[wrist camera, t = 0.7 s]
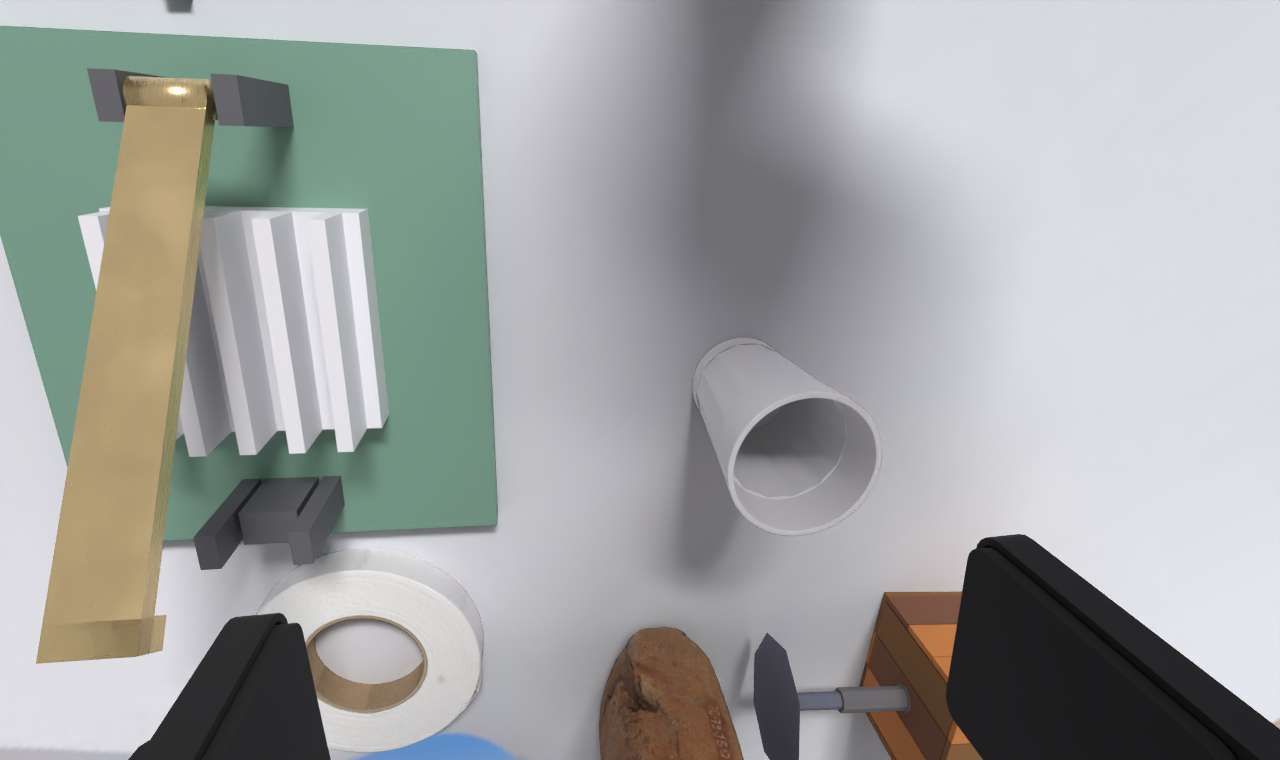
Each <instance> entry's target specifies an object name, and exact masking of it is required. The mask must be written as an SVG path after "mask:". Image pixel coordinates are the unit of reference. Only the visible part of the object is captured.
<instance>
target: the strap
mask: <svg viewBox="0 0 1280 760" xmlns="http://www.w3.org/2000/svg"><path fill="white" fill-rule="evenodd" d="M123 95H124V99H125V102H126V105H127V106H126V112H125V119H124V125H123V131H122V137H121V143H120V149H119V156H118V162H117V168H116V174H115V180H114V186H113V193H112V199H111V205H110V211H109V217H108V223H107V230H106V236H105V242H104V248H103V254H102V260H101V267H100V273H99V279H98V285H97V291H96V297H95V304H94V310H93V316H92V322H91V328H90V334H89V341H88V347H87V353H86V359H85V365H84V371H83V377H82V384H81V390H80V396H79V402H78V408H77V414H76V421H75V427H74V433H73V439H72V445H71V451H70V458H69V464H68V470H67V476H66V482H65V488H64V495H63V501H62V507H61V513H60V519H59V525H58V532H57V538H56V544H55V550H54V556H53V562H52V569H51V575H50V581H49V587H48V593H47V599H46V606H45V612H44V618H43V624H42V630H41V636H40V643H39V649H38V655H37V661H36V664H37V663H51V662H66V661H80V660H94V659H109V658H123V657H136V656H141V655H145V654H149V653H154V652H158V651H162V648H163V640H164V631H165V623H166V615H161V616H154V613H155V605H156V597H157V589H158V581H159V573H160V565H161V556H162V548H163V540H164V532H165V524H166V516H167V508H168V499H169V491H170V483H171V475H172V467H173V459H174V451H175V442H176V434H177V426H178V418H179V410H180V402H181V394H182V386H183V377H184V369H185V361H186V353H187V345H188V337H189V329H190V320H191V312H192V304H193V296H194V288H195V280H196V272H197V263H198V255H199V247H200V239H201V231H202V223H203V215H204V206H205V198H206V190H207V182H208V174H209V166H210V158H211V149H212V141H213V133H214V125H215V120H218V116H217V110H216V105H215V99H214V93H213V87H212V81H211V80H209V79H187V78H163V77H140V76H128V77H126V78H125V80H124V83H123Z"/></svg>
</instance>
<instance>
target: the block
mask: <svg viewBox="0 0 1280 760" xmlns="http://www.w3.org/2000/svg"><path fill="white" fill-rule="evenodd" d="M599 732H600V753H601V760H744V759H743V756H742V752H741V748H740V744H739V741H738V738H737V734H736V731H735V728H734V726H733V723H732V720H731V717H730V714H729V710H728V707H727V705H726V702H725V699H724V696H723V693H722V690H721V687H720V684H719V682H718V679H717V677H716V675H715V672H714V670H713V667H712V665H711V663H710V660H709V658H708V657H707V656H706V654H705V653H704V652H703V651H702V650H701V649H700V648H699V646H698V645H696V644H695V643H694V642H693V641H691V640H690V639H689V638H688V637H687V636H686V634H685V633H683V632H682V631H680V630H678V629H674V628H666V627H662V628H647V629H644V630H641V631H639V632H637V633H636V634H635V635H634V636H633V637H632V638H631V639H630V641H629V643H628V645H627V646H626V647H625V649H624V650H623V652H622V653H621V654H620V656H619V657H618V658H617V660H616V662H615V664H614V667H613V669H612V671H611V674H610V676H609V679H608V682H607V685H606V688H605V692H604V695H603V700H602V704H601V712H600V723H599Z"/></svg>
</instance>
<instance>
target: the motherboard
mask: <svg viewBox="0 0 1280 760" xmlns="http://www.w3.org/2000/svg"><path fill="white" fill-rule="evenodd" d="M128 76H140V77H163V78H187V79H209V80H211V81H212V87H213V93H214V99H215V105H216V110H217V116H218V120H215V125H214V133H213V141H212V149H211V158H210V166H209V174H208V182H207V190H206V198H205V206H204V215H203V223H202V231H201V239H200V247H199V255H198V263H197V272H196V280H195V288H194V296H193V304H192V312H191V320H190V329H189V337H188V345H187V353H186V361H185V369H184V377H183V386H182V394H181V402H180V410H179V418H178V426H177V434H176V442H175V451H174V459H173V467H172V475H171V483H170V491H169V499H168V508H167V516H166V524H165V532H164V540H163V541H169V540H190V539H194V542H195V546H196V551H197V555H198V560H199V564H200V568H201V570H207V569H222V567H223V566H224V564H225V563H226V562H227V560H228V559H229V558H230V556H231V555H232V553H233V552H234V551H235V549H236V548H237V547H238V545H239V544H240V542H241V541H242V540H244V545H247V544H267V543H288V542H290V545H291V551H292V556H293V562H294V565H301V564H314V562H315V560H316V558H317V557H318V555H319V553H320V551H321V549H322V547H323V545H324V543H325V541H326V539H327V537H328V535H329V534H330V533H337V532H358V531H379V530H401V529H422V528H443V527H464V526H485V525H497V517H498V503H497V481H496V459H495V437H494V415H493V394H492V372H491V350H490V328H489V306H488V284H487V262H486V240H485V218H484V196H483V174H482V153H481V131H480V109H479V87H478V65H477V53H476V51H475V50H462V49H442V48H423V47H404V46H384V45H365V44H345V43H326V42H307V41H287V40H268V39H248V38H229V37H209V36H190V35H171V34H151V33H132V32H112V31H93V30H73V29H54V28H35V27H15V26H0V236H1V239H2V243H3V246H4V250H5V253H6V257H7V260H8V263H9V267H10V270H11V274H12V277H13V281H14V284H15V288H16V291H17V294H18V298H19V301H20V305H21V308H22V312H23V315H24V319H25V322H26V326H27V329H28V332H29V336H30V339H31V343H32V346H33V350H34V353H35V357H36V360H37V363H38V367H39V370H40V374H41V377H42V381H43V384H44V388H45V391H46V394H47V398H48V401H49V405H50V408H51V412H52V415H53V419H54V422H55V426H56V429H57V432H58V436H59V439H60V443H61V446H62V450H63V453H64V457H65V460H66V463H67V467H68V464H69V458H70V451H71V445H72V439H73V433H74V427H75V421H76V414H77V408H78V402H79V396H80V390H81V384H82V377H83V371H84V365H85V359H86V353H87V347H88V341H89V334H90V328H91V322H92V316H93V310H94V304H95V297H96V291H97V285H98V279H99V273H100V267H101V260H102V254H103V248H104V242H105V236H106V230H107V223H108V217H109V211H110V205H111V199H112V193H113V186H114V180H115V174H116V168H117V162H118V156H119V149H120V143H121V137H122V131H123V125H124V119H125V112H126V106H127V105H126V102H125V99H124V95H123V83H124V80H125V78H126V77H128Z"/></svg>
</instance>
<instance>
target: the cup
mask: <svg viewBox="0 0 1280 760" xmlns="http://www.w3.org/2000/svg"><path fill="white" fill-rule="evenodd" d="M692 392H693V397H694V400H695V403H696V405H697V407H698V409H699V410H700V412H701V415H702V418H703V420H704V423H705V426H706V428H707V431H708V434H709V436H710V439H711V442H712V444H713V447H714V450H715V452H716V455H717V458H718V460H719V463H720V466H721V469H722V472H723V475H724V478H725V481H726V484H727V487H728V490H729V492H730V495H731V498H732V500H733V502H734V504H735V506H736V508H737V509H738V511H739V512H740V513H741V514H742V515H743V517H744V518H745V519H747V520H748V521H749V522H750V523H752V524H753V525H755V526H756V527H758V528H760V529H762V530H764V531H767V532H770V533H773V534H777V535H784V536H801V535H808V534H812V533H816V532H819V531H822V530H825V529H827V528H830V527H832V526H834V525H835V524H837V523H839V522H841V521H842V520H844V519H845V518H846V517H848V516H849V515H850V514H851V513H853V512H854V511H855V510H856V509H857V508H858V507H859V506H860V505H861V504H862V502H863V501H864V500H865V499H866V497H867V496H868V494H869V493H870V491H871V490H872V488H873V486H874V484H875V482H876V479H877V477H878V474H879V470H880V466H881V459H882V446H881V439H880V435H879V432H878V430H877V427H876V425H875V423H874V422H873V420H872V418H871V417H870V416H869V414H868V413H867V412H866V411H865V410H864V409H863V408H862V407H861V406H859V405H858V404H857V403H855V402H853V401H852V400H850V399H849V398H847V397H845V396H844V395H842V394H841V393H839V392H837V391H836V390H834V389H832V388H831V387H829V386H828V385H826V384H824V383H823V382H821V381H819V380H818V379H816V378H815V377H813V376H812V375H810V374H809V373H807V372H806V371H804V370H803V369H801V368H800V367H798V366H796V365H795V364H793V363H792V362H790V361H789V360H787V359H786V358H784V357H783V356H781V355H780V354H778V353H777V352H776V351H775V350H774V349H773V348H771V347H770V346H769V345H768V344H766V343H764V342H762V341H760V340H757V339H753V338H747V337H740V338H733V339H729V340H726V341H724V342H721V343H719V344H718V345H716V346H715V347H713V348H712V349H711V350H709V351H708V352H707V353H706V354H705V355H704V357H703V358H702V359H701V361H700V362H699V364H698V366H697V368H696V370H695V373H694V376H693V382H692Z"/></svg>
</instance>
